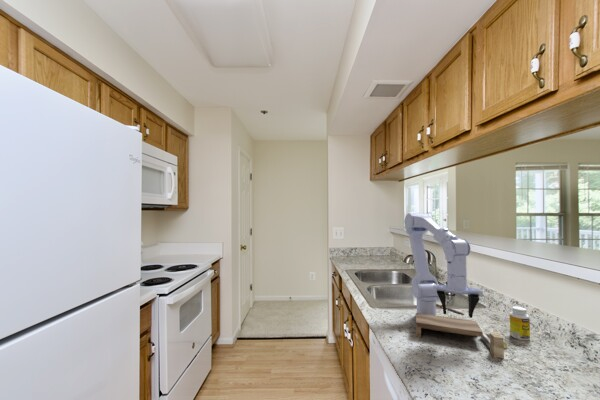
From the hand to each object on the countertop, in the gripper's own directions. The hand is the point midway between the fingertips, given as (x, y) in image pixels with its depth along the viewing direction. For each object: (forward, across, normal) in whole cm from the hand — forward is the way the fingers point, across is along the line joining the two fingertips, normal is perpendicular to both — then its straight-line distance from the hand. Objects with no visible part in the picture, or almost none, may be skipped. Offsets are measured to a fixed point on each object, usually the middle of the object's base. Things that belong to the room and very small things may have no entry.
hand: (457, 314), depth 93 cm
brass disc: (+10, +12, +3) cm, 16 cm away
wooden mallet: (+9, +10, 0) cm, 13 cm away
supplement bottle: (+10, +21, +13) cm, 27 cm away
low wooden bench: (+9, -3, +4) cm, 11 cm away
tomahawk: (+10, -1, +37) cm, 39 cm away
